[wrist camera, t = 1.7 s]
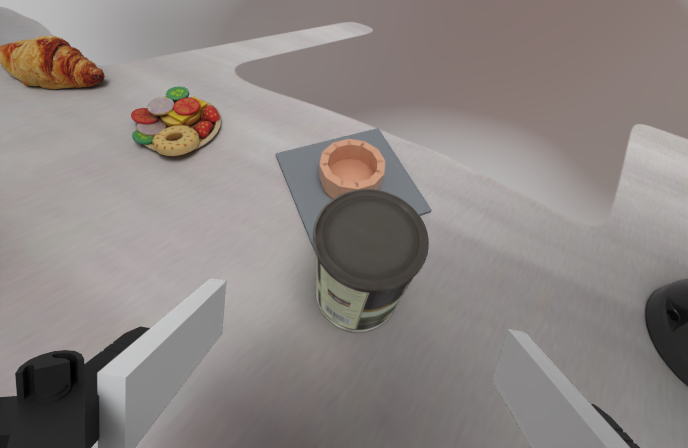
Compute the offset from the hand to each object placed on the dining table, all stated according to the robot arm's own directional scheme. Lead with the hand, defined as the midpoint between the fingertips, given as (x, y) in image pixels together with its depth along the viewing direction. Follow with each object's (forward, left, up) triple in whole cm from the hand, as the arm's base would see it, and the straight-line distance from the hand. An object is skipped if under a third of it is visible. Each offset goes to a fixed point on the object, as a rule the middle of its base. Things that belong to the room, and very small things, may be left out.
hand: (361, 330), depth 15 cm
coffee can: (-6, -9, -24) cm, 26 cm away
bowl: (-12, -25, -23) cm, 36 cm away
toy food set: (+10, -45, -24) cm, 52 cm away
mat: (-12, -25, -24) cm, 36 cm away
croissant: (+28, -66, -24) cm, 76 cm away
